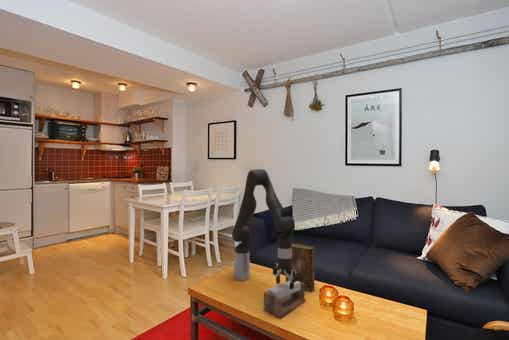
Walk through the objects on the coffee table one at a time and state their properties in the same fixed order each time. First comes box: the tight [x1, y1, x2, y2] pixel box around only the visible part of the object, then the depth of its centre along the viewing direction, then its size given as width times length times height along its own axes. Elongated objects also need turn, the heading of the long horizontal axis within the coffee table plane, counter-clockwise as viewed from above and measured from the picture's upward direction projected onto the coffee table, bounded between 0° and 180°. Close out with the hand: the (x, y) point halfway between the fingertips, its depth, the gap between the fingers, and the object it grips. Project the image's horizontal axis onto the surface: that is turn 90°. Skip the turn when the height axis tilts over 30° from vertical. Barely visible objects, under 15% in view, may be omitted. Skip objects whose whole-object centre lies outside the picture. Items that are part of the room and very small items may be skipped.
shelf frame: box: [263, 279, 306, 320], centre depth 139 cm, size 11×22×10 cm, turn 137°
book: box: [285, 242, 316, 293], centre depth 158 cm, size 16×6×25 cm, turn 62°
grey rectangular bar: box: [267, 281, 301, 298], centre depth 139 cm, size 5×18×4 cm, turn 126°
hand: (284, 286), depth 139 cm, fingers open, 8 cm apart
